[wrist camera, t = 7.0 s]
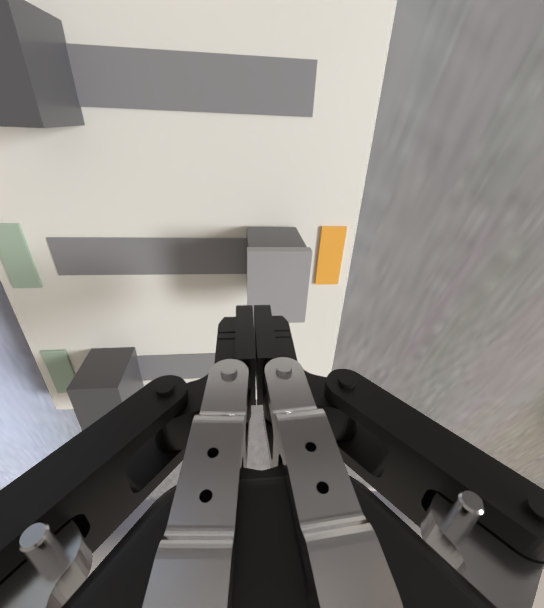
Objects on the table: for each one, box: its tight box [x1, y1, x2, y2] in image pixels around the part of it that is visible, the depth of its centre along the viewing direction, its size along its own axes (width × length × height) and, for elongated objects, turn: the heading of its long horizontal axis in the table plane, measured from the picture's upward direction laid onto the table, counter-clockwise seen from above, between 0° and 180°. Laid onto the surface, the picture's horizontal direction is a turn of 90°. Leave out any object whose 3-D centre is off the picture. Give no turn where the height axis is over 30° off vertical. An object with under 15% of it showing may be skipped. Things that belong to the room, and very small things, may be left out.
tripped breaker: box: [246, 227, 313, 323], centre depth 18 cm, size 3×4×4 cm
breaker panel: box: [0, 0, 397, 431], centre depth 19 cm, size 22×26×6 cm
